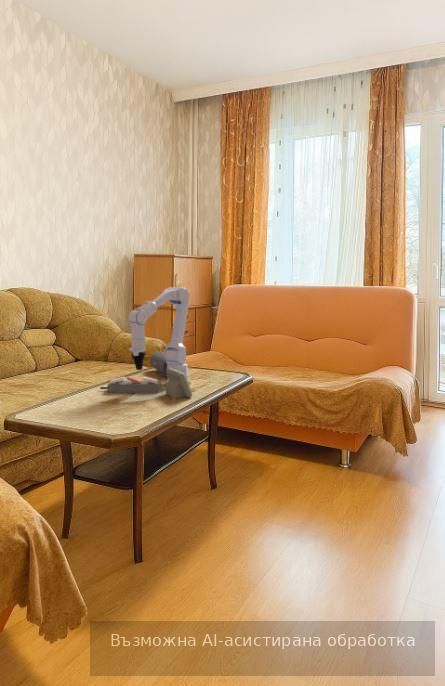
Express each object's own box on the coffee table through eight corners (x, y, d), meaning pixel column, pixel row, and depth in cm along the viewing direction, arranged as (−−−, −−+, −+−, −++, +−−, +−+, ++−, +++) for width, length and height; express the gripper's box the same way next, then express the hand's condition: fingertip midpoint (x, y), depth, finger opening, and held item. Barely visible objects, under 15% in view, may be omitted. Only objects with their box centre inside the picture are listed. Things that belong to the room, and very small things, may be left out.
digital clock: (193, 398, 212) (193, 373, 210) (171, 400, 209) (171, 374, 208) (184, 390, 227) (183, 366, 226) (163, 391, 224) (163, 367, 223)
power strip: (161, 388, 230) (161, 379, 230) (158, 392, 222) (158, 383, 222) (102, 388, 231) (102, 379, 230) (98, 392, 223) (98, 383, 222)
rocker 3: (157, 381, 226) (157, 379, 225) (156, 383, 223) (157, 380, 223) (143, 378, 225) (144, 376, 225) (142, 379, 223) (143, 377, 223)
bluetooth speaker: (148, 370, 270) (148, 351, 269) (166, 369, 274) (165, 350, 273) (161, 379, 250) (160, 358, 248) (179, 377, 253) (179, 357, 252)
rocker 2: (140, 382, 226) (141, 380, 226) (139, 383, 223) (140, 381, 223) (127, 378, 225) (128, 375, 225) (126, 379, 223) (127, 376, 223)
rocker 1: (125, 378, 226) (124, 376, 225) (124, 379, 223) (123, 377, 223) (112, 382, 226) (111, 379, 226) (110, 383, 223) (109, 381, 223)
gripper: (131, 336, 230) (133, 366, 232) (125, 340, 215) (126, 373, 217) (147, 336, 230) (148, 366, 232) (142, 340, 215) (143, 372, 217)
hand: (139, 369), depth 225 cm, fingers closed
